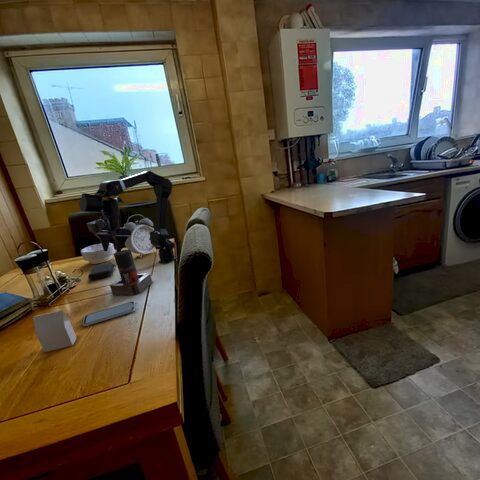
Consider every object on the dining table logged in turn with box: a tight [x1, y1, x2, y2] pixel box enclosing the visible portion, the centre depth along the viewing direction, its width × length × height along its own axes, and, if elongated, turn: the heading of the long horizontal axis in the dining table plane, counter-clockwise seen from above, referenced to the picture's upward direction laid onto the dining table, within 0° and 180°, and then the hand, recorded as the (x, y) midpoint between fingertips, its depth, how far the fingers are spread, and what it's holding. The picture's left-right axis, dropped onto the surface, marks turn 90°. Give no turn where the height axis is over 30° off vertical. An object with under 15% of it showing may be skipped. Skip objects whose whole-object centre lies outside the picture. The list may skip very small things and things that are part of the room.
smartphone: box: [82, 301, 136, 327], centre depth 90 cm, size 7×1×15 cm
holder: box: [109, 272, 153, 297], centre depth 108 cm, size 11×11×4 cm
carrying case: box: [87, 262, 117, 281], centre depth 129 cm, size 11×3×15 cm
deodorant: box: [113, 249, 139, 283], centre depth 106 cm, size 6×6×15 cm
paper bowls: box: [80, 242, 116, 265], centre depth 148 cm, size 15×15×8 cm
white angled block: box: [32, 309, 78, 353], centre depth 75 cm, size 4×7×10 cm, turn 108°
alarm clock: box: [122, 213, 157, 259], centre depth 147 cm, size 16×9×22 cm, turn 147°
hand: (111, 252), depth 114 cm, fingers open, 9 cm apart
